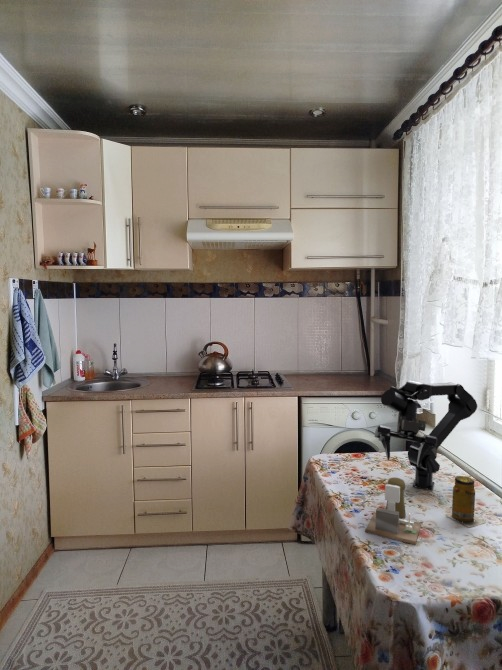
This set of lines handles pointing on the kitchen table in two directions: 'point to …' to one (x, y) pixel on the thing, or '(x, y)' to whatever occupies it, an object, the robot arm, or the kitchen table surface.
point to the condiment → (464, 502)
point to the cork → (401, 505)
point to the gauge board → (393, 536)
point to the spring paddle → (394, 499)
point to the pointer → (409, 525)
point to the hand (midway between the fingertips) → (403, 463)
